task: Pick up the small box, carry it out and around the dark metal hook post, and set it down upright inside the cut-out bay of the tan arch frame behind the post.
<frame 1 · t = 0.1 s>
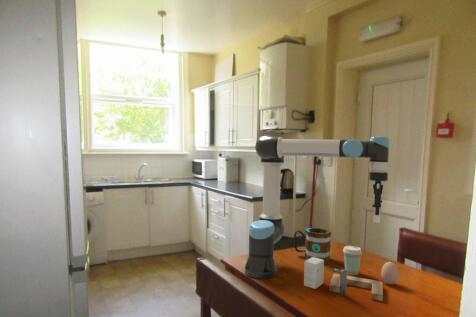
hand: (376, 219, 139), 28 cm above the table, fingers open, 13 cm apart
tan arch frame: (356, 289, 131), on the table
egg: (389, 284, 137), on the table
small box: (313, 285, 135), on the table
coffee cup: (351, 273, 149), on the table
hook post: (342, 295, 125), on the table
mug: (311, 257, 170), on the table
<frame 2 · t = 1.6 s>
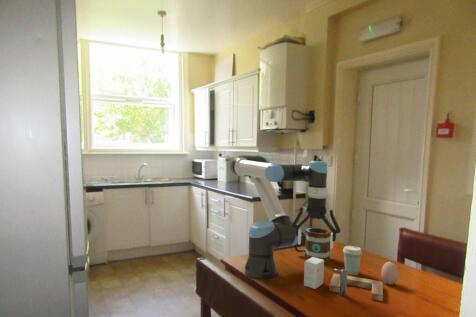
hand: (315, 246, 135), 17 cm above the table, fingers open, 13 cm apart
nothing on the table moved.
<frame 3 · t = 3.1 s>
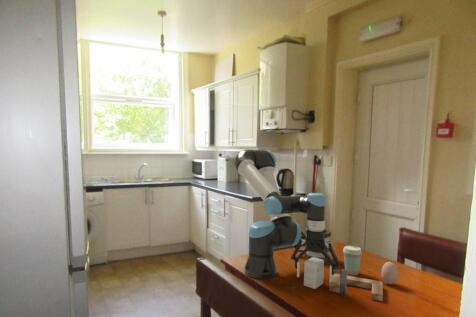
hand: (314, 278, 134), 3 cm above the table, fingers open, 13 cm apart
nothing on the table moved.
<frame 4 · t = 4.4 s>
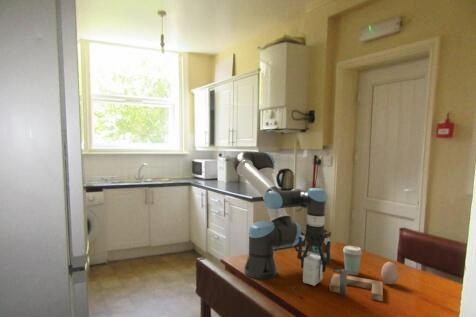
hand: (312, 277, 135), 3 cm above the table, fingers closed on small box, 6 cm apart
small box: (312, 281, 135), point 1 cm above the table, touching gripper
everything else where it was.
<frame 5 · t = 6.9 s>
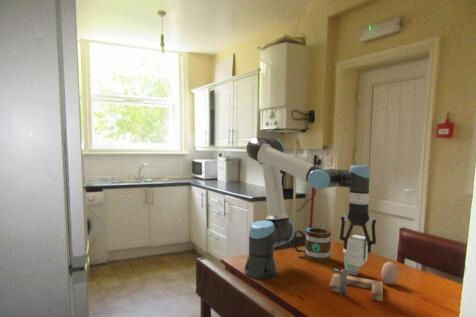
hand: (356, 258, 129), 14 cm above the table, fingers closed on small box, 6 cm apart
small box: (356, 263, 129), point 12 cm above the table, touching gripper
everything else where it was.
when the fingers open (2 cm above the table, at t = 9.3 s): small box stays where it is, on the table.
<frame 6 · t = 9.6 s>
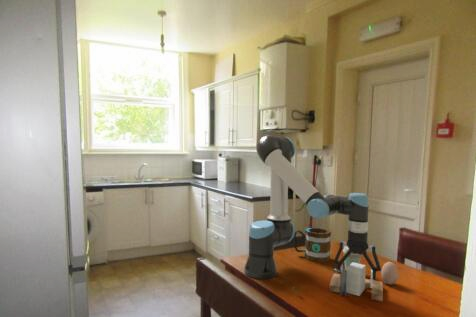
hand: (356, 283, 129), 3 cm above the table, fingers open, 11 cm apart
small box: (355, 291, 129), on the table
everything else where it was.
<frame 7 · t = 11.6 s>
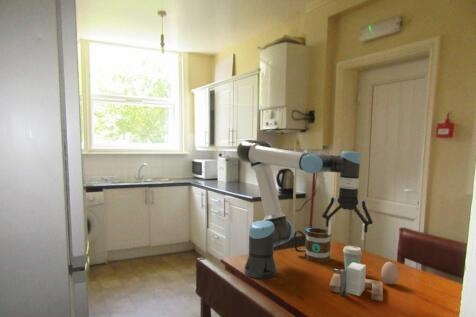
hand: (345, 237, 134), 21 cm above the table, fingers open, 13 cm apart
nothing on the table moved.
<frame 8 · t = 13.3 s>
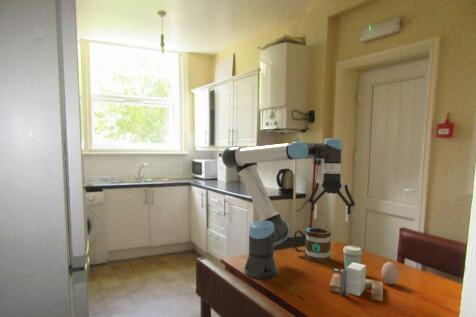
hand: (330, 219, 142), 27 cm above the table, fingers open, 13 cm apart
nothing on the table moved.
at the end: small box inside the target area (0.1 cm from its centre), on the table; small box tilted 0°; the gripper is holding nothing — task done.
